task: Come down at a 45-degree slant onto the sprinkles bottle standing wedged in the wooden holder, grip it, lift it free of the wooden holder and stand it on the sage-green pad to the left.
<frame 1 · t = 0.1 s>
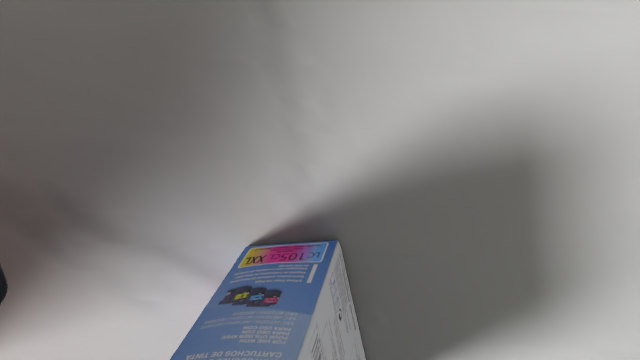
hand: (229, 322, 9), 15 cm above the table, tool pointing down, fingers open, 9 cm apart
ink cartridge box: (308, 317, 28), on the table
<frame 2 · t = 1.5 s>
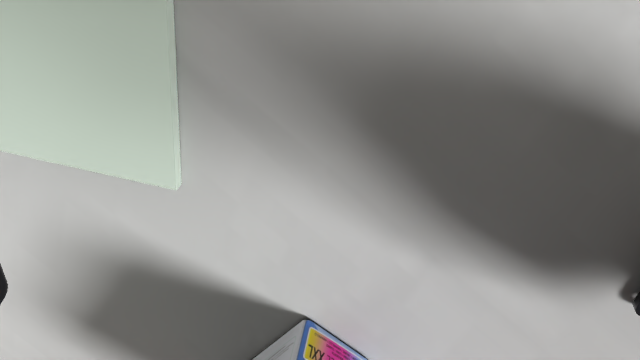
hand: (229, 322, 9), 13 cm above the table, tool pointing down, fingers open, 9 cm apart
pad: (68, 67, 22), on the table
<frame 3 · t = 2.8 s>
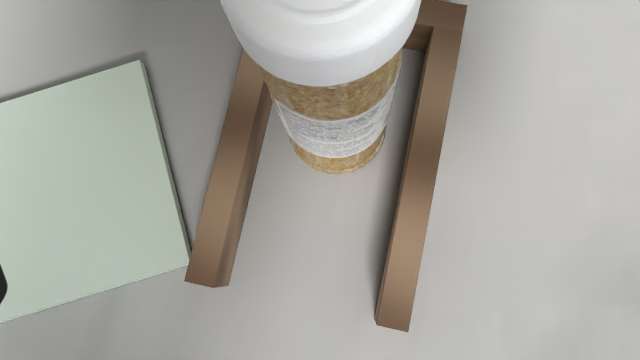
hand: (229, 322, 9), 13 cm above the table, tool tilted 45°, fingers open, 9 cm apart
pad: (67, 191, 24), on the table
wooden holder: (337, 129, 23), on the table
sprinkles bottle: (337, 130, 24), resting in wooden holder
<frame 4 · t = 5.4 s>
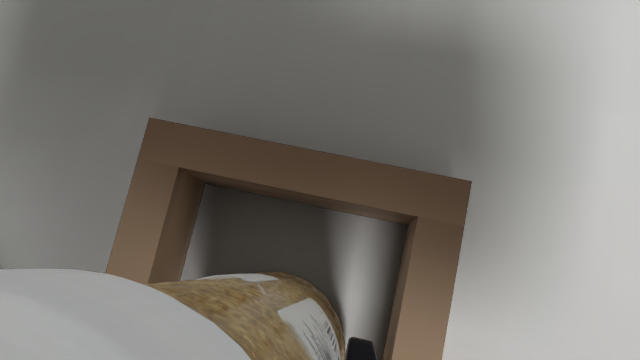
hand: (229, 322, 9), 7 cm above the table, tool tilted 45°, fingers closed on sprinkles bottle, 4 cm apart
wooden holder: (271, 348, 15), on the table
sprinkles bottle: (272, 347, 15), resting in wooden holder, touching gripper
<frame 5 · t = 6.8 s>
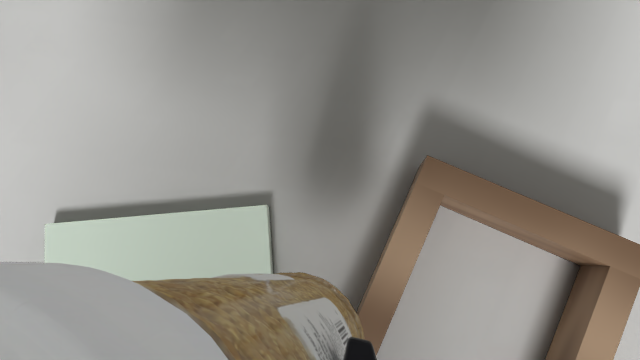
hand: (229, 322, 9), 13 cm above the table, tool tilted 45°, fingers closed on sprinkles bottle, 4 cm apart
pad: (162, 329, 22), on the table
wooden holder: (466, 331, 21), on the table
sprinkles bottle: (295, 347, 16), point 6 cm above the table, touching gripper
when the fingers open (8 cm above the table, at t = 8.4 s): sprinkles bottle stays where it is, resting on pad.
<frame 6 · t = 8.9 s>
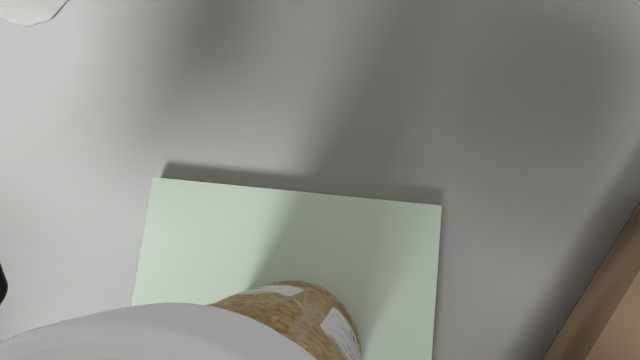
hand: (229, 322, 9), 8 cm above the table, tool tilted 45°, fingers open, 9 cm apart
pad: (278, 339, 17), on the table
sprinkles bottle: (292, 351, 17), resting on pad
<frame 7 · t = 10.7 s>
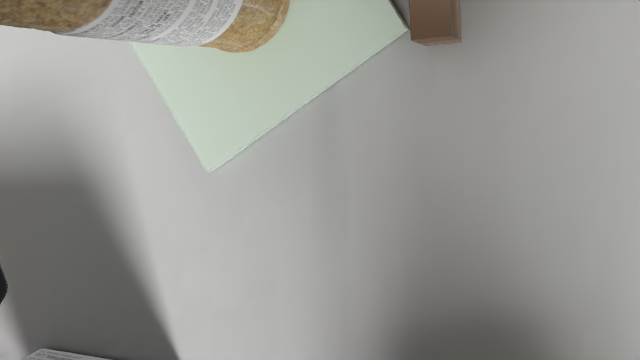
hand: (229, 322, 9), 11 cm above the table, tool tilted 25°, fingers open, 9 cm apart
pad: (237, 0, 20), on the table
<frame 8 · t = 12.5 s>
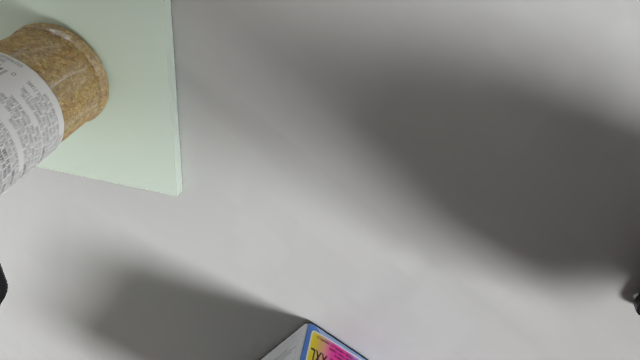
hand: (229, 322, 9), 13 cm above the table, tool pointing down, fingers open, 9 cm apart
pad: (70, 77, 22), on the table
sprinkles bottle: (67, 70, 22), resting on pad
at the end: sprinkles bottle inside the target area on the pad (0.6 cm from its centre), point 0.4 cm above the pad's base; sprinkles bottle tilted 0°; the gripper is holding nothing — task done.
